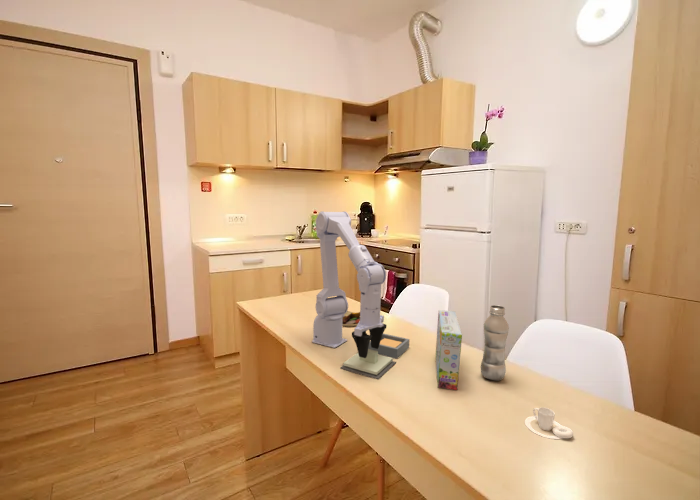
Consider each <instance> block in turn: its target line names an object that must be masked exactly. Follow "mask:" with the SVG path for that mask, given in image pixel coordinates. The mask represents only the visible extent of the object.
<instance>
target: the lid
mask: <svg viewBox="0 0 700 500" xmlns="http://www.w3.org/2000/svg"><path fill="white" fill-rule="evenodd" d="M393 359H394V358H392V357H388V356H384V355H380V354H378V351H375V350H371V349H368V353H367V357H366V358H362V357H359V354H358V352H357V353H355V354H354V355H353V356H351V357H350V358H348V359H347V360H345V361H344V362H343V365H342V366H347V367H350V368H354V369H357V370H361V371H364V372H368V373H371V374H375V375H377V374H378V373H380V372H381V371H382V370H383V369H384V368H385V367H386V366H387V365H388V364H390V363H391V362H392V361H394V360H393Z"/></svg>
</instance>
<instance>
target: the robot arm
mask: <svg viewBox="0 0 700 500" xmlns="http://www.w3.org/2000/svg"><path fill="white" fill-rule="evenodd" d="M315 227H316V237H317V238H318V239H319V248H320V259H321V260H320V261H321V273H322V287H323V288H322V289H321V290H320V291H319V292H318V293H317V294H316V303H315V311H316V314H317V315H316V316H315V317H314V320H313V324H312V325H313V328H312V329H313V330H312V332H313V333H312V334H313V335H312V336H313V339H312V340H311V342H312V343H314V344H318V345H321V346H325V347H329V348H333V349H336V348H338V347H339V346H341V345H343V344H345V342H347V341H348V339H347V338H344V337H343V326H342V319H343V317H344V314H345V313H346V312H347V311H349V302H348V299H347V296H346V295H347V294H346V292H345V291H344V290H343V289H341V288H340V285H339V273H338V270H339V269H338V259H337V247H336V246H337V245H336V241H337V239H338V238H340V240H341V241H343V244H345V246H346V247H347V249H348V250H349V252H348V258H349V260H350V261H351V262H352V265H353V266H354V268H355V271H356V273H357V274H356V281H357V283H358V290H359V292H360V305H359V306H360V310H359V312H360V321H359V323H358V325H357V326H355V327H353V329H354V330H353V331H352V332H351V337H352V340H353V341H354V342H355V345H356V349H357V353H358V354H359V357H362V358H366V357H367V353H368V346H369V342H370V341H371V347H372V348H376V349H378V348H379V345H380V341H381V338H382V335H383V334H384V332H385V331H386V329H387V324H386V323H384V322H385V321H384V320H385V319H384V318H385V316H384V315H382V314H381V300H382V295H381V294H382V284H384V283H385V281H386V279H387V274H386V273H387V272H386V270H385V267H384V265H383V264H381V263H378V262H377V261H375V260H374V258H373V256H372V254H371V253H370V251H369V250H368V249H367V246H366V245H364V244H360V242H359V240H358V237H356V235H355V231H354V230H353V228H352V219H351V217H350V214H349V213H348V212H347V211H320V212H318V214H317V216H316V219H315ZM367 331H368V332H369V334H368V333H367Z"/></svg>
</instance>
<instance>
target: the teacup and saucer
mask: <svg viewBox="0 0 700 500" xmlns="http://www.w3.org/2000/svg"><path fill="white" fill-rule="evenodd" d="M536 411H537V414H536ZM532 413H533V415H532V416H531V415H530V416H528V417H526V418H525V420H524V424H525V426H526V428H527V429H528V430H529V431H530V432H531V433H534V434H536V435H537V436H540V437H543V438H545V439H550V440H562V439H571V438H572V437H573V436H574V431H573V430H572V429H571V428H570V427H568V426H565V425H562V424H560V423H559V422H557V421H556V420H555V415H556V413H555V411H554V410H553V409H550V408H548V407H534V408H533V409H532ZM535 420H536V421H537V423H538V427H539V428H540V429H542V430H544V431H547V432H548V431H551V430H552V432H553V434H554V435H548V434H544V433H541V432H539V431H538V430H536V429H534V428H533V426H532V424H531V423H532V422H533V421H535Z"/></svg>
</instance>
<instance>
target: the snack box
mask: <svg viewBox="0 0 700 500" xmlns="http://www.w3.org/2000/svg"><path fill="white" fill-rule="evenodd" d="M437 315H438V316H437V328H436V343H435V366H436V381H437V382H436V383H437V388H438V389H447V390H451V391H458V384H459V374H460V366H461V365H460V364H461V363H460V362H461V353H462V352H461V351H462V341H463V334H462V329H461V326H460V324H459V319H458V317H457V313H456V311H454V310H453V311H452V310H440V309H439V310H438V314H437Z"/></svg>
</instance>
